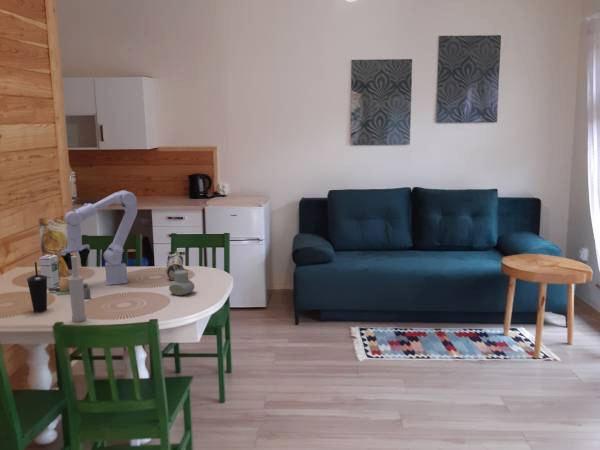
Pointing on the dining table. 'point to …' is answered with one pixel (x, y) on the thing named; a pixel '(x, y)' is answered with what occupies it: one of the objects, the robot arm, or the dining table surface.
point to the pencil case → (174, 264)
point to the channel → (86, 291)
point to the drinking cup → (38, 291)
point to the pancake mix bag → (54, 239)
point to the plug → (62, 286)
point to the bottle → (76, 293)
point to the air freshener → (181, 283)
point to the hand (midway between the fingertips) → (77, 267)
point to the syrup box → (50, 269)
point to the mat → (62, 292)
